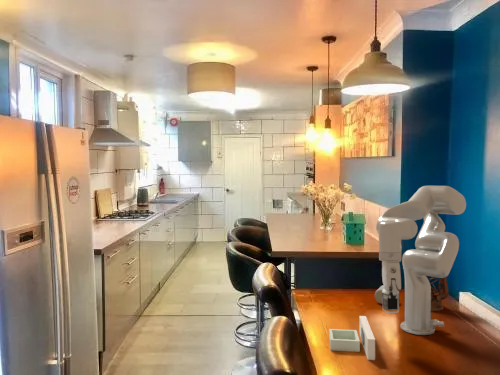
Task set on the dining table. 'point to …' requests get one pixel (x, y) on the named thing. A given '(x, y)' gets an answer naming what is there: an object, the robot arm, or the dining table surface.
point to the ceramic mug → (379, 294)
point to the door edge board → (367, 337)
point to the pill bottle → (385, 301)
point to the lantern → (437, 299)
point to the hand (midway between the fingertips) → (390, 305)
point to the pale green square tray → (344, 340)
